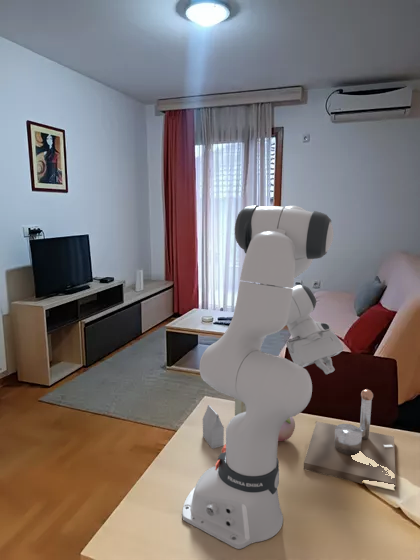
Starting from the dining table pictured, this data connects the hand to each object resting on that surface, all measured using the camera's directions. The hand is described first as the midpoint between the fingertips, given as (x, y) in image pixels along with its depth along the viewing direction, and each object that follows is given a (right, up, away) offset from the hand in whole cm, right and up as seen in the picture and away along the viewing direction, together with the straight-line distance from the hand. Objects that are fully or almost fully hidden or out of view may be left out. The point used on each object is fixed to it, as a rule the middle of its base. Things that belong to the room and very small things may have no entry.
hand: (330, 372), depth 124 cm
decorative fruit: (-16, -19, -4) cm, 25 cm away
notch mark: (+13, -18, -11) cm, 25 cm away
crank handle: (+4, -18, -10) cm, 20 cm away
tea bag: (-36, -19, -4) cm, 41 cm away
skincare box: (-25, -17, +8) cm, 31 cm away
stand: (+2, -20, -11) cm, 23 cm away
